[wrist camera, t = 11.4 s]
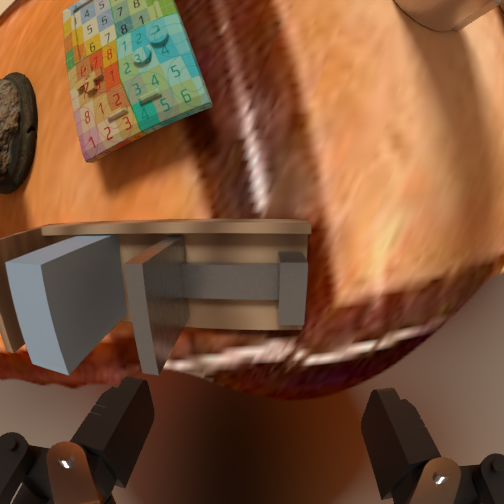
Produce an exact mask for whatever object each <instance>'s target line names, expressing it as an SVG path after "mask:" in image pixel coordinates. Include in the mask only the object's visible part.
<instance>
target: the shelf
mask: <svg viewBox="0 0 504 504" xmlns="http://www.w3.org/2000/svg"><path fill="white" fill-rule="evenodd" d="M82 234H118V237H119V249H120V260H121V269H122V278H123V286H124V293H125V300H126V307H127V314H126V315H125V316H124V317H123V318H122V319H121V320H120V321H122V322H131V323H132V319H131V313H130V307H129V301H128V294H127V287H126V279H125V271H124V263H125V262H127V261H129V260H130V259H132V258H134V257H135V256H137V255H138V254H140V253H142V252H143V251H145V250H147V249H148V248H150V247H152V246H153V245H155V244H157V243H158V242H160V241H162V240H164V239H165V238H167V237H169V236H171V235H184V251H185V262H228V263H278V251H291V252H302V253H303V254H304V256H305V258H306V260H307V245H308V234H311V223H310V222H308V221H307V220H298V219H168V220H129V221H101V222H79V223H60V224H48V225H44V226H40V227H37V228H33V229H29V230H26V231H22V232H19V233H15V234H12V235H8V236H5V237H2V238H0V333H1V336H2V339H3V342H4V345H5V348H6V350H7V351H9V352H12V353H14V352H16V351H17V350H18V349H19V348H21V347H22V346H23V345H24V344H25V341H24V338H23V335H22V332H21V328H20V325H19V321H18V318H17V314H16V310H15V307H14V303H13V299H12V294H11V290H10V285H9V280H8V275H7V270H6V264H5V262H8V261H10V260H13V259H15V258H18V257H20V256H23V255H26V254H28V253H31V252H33V251H36V250H39V249H41V248H44V247H47V246H50V245H52V244H55V243H58V242H61V241H64V240H67V239H69V238H72V237H75V236H78V235H82ZM276 303H277V300H242V299H205V298H188V309H189V319H188V321H187V323H186V324H185V326H184V327H193V328H213V329H241V330H302V326H303V325H278V318H277V308H276Z"/></svg>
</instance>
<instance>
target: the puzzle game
mask: <svg viewBox="0 0 504 504" xmlns="http://www.w3.org/2000/svg"><path fill="white" fill-rule="evenodd" d="M63 30H64V43H65V55H66V65H67V73H68V81H69V88H70V94H71V100H72V106H73V112H74V117H75V122H76V127H77V132H78V136H79V141H80V145H81V149H82V153H83V156H84V158H85V161H86V162H91V163H93V162H95V161H97V160H99V159H100V158H102V157H104V156H106V155H108V154H110V153H111V152H113V151H115V150H117V149H119V148H121V147H123V146H125V145H127V144H129V143H131V142H133V141H135V140H137V139H139V138H141V137H143V136H145V135H147V134H149V133H151V132H153V131H155V130H158V129H160V128H162V127H164V126H167V125H169V124H171V123H173V122H176V121H178V120H181V119H183V118H185V117H188V116H190V115H193V114H195V113H198V112H200V111H203V110H206V109H208V108H211V107H213V105H212V102H211V99H210V97H209V94H208V91H207V88H206V86H205V83H204V80H203V77H202V74H201V72H200V69H199V66H198V63H197V61H196V58H195V55H194V52H193V50H192V47H191V44H190V41H189V39H188V36H187V33H186V30H185V28H184V25H183V22H182V20H181V17H180V14H179V12H178V9H177V6H176V3H175V1H174V0H79V1H78V2H76V3H75V4H73V5H72V6H70V7H69V8H67V9H66V10H64V11H63Z"/></svg>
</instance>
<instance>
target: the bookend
mask: <svg viewBox="0 0 504 504" xmlns="http://www.w3.org/2000/svg"><path fill="white" fill-rule="evenodd" d="M124 271H125V279H126V287H127V294H128V301H129V307H130V313H131V319H132V325H133V330H134V336H135V341H136V346H137V351H138V355H139V360H140V364H141V369H142V373H145V374H152V375H159V374H160V372H161V370H162V369H163V367H164V365H165V363H166V361H167V359H168V357H169V355H170V353H171V351H172V349H173V347H174V345H175V343H176V342H177V340H178V338H179V336H180V334H181V332H182V330H183V328H184V326H185V324H186V323H187V321H188V319H189V309H188V298H205V299H242V300H277V303H276V308H277V318H278V325H304V318H305V305H306V291H307V275H308V262H307V260H306V258H305V256H304V254H303V253H302V252H291V251H278V263H228V262H185V251H184V235H171V236H169V237H167V238H165V239H164V240H162V241H160V242H158V243H157V244H155V245H153V246H152V247H150V248H148V249H147V250H145V251H143V252H142V253H140V254H138V255H137V256H135V257H134V258H132V259H130V260H129V261H127V262H125V263H124Z"/></svg>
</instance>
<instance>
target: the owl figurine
mask: <svg viewBox="0 0 504 504" xmlns="http://www.w3.org/2000/svg"><path fill="white" fill-rule="evenodd" d="M36 125H37V107H36V99H35V94H34V91H33V87H32V85H31V83H30V81H29V79H28V78H27V77H25V75H23V74H21V73H17V72H14V73H10V74H8V75H7V76H5V77H4V78H3V79H0V193H1V194H9V193H12V192H13V191H15V190H16V189H17V187H19V186H20V185H21V184H22V183H23V181H24V180H25V178H26V177H27V175H28V172H29V170H30V167H31V164H32V161H33V157H34V152H35V140H36V132H35V131H31V132H30V133H29V134H27V131H28V130H29V128H30V127H31V126H32V127H33V128H36Z"/></svg>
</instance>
